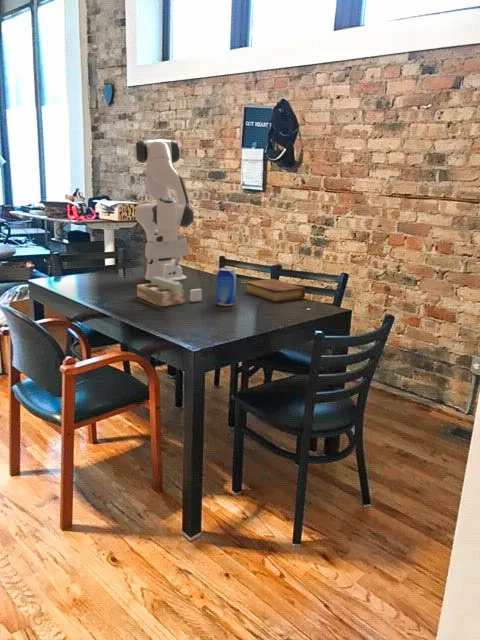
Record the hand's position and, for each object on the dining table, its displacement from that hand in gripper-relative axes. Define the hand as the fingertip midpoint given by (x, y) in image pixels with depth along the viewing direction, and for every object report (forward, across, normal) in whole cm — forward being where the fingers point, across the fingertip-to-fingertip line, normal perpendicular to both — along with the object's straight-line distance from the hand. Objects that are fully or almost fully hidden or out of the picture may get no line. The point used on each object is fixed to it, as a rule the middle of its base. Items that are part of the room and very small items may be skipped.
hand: (167, 267), depth 233 cm
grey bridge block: (+14, +1, 0) cm, 14 cm away
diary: (+16, -51, +17) cm, 56 cm away
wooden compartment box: (+15, +4, 0) cm, 15 cm away
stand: (+15, -9, 0) cm, 17 cm away
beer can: (+15, -17, +21) cm, 31 cm away
